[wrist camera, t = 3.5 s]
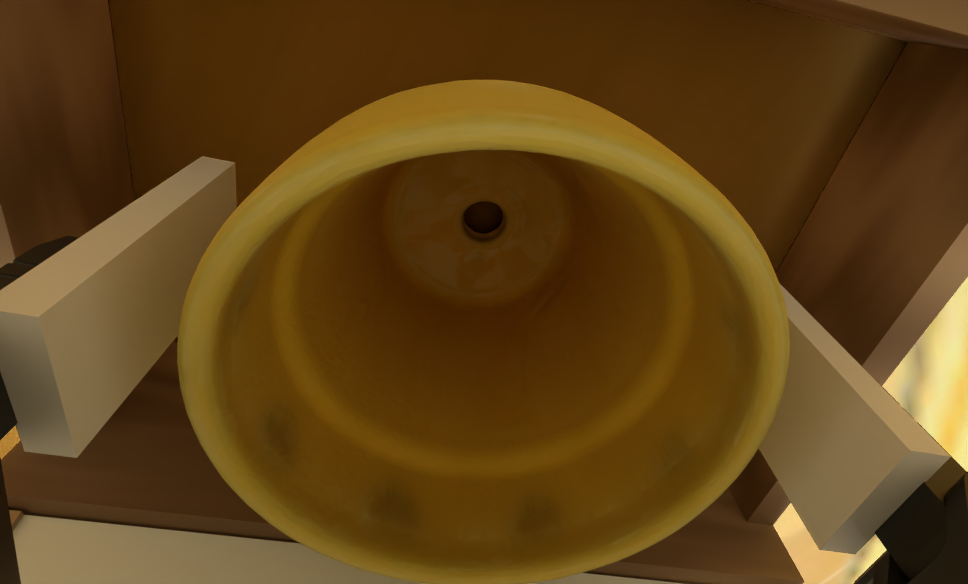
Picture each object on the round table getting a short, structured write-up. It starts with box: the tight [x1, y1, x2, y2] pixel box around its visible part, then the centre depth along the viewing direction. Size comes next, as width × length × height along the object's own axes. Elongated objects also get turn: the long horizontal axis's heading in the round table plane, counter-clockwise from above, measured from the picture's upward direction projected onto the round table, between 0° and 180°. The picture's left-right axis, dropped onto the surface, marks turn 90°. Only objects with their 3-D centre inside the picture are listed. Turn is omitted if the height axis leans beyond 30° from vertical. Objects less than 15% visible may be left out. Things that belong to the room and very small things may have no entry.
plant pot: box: [177, 80, 790, 584], centre depth 13 cm, size 10×10×10 cm
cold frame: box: [0, 0, 968, 584], centre depth 14 cm, size 17×24×7 cm
